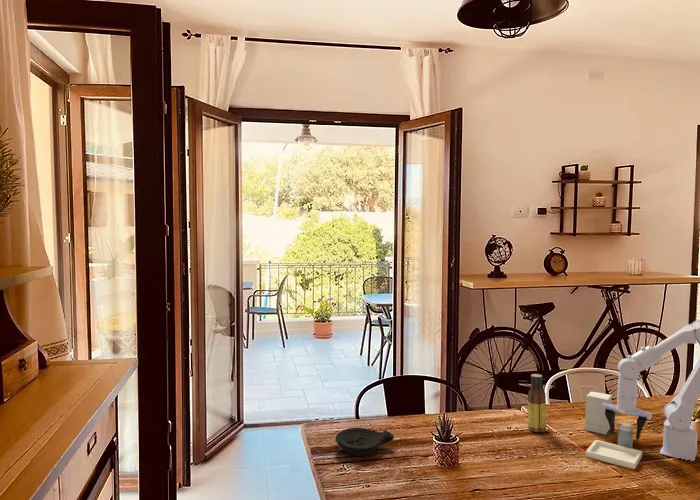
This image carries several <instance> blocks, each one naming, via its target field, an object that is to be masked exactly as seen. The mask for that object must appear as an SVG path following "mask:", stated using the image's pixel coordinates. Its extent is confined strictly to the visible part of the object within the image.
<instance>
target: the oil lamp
mask: <svg viewBox="0 0 700 500" xmlns="http://www.w3.org/2000/svg"><path fill="white" fill-rule="evenodd" d="M394 438H395V436H394V434H393V433H391V432H390V431H388V430H386V429H385V430H383V431H380V432H379V431H376V430H375V429H372V430H371V429H368V428H365V427H364V428H363V427H350V428H346V429H343V430H341V431H340V432H338V433H337V434H336V436H335V441H336V444H337V445H338V446H339V447H340V448H341V449H342V450H343V451H344V452H345V453H347V454H350V455H353V456H357V457H362V456H367V455H369V454H372V453H374V451H376V450H377V449H378V448H380V446H383V445H385V444H388V443H389V442H392V441H393V440H394Z"/></svg>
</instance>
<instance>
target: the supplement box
mask: <svg viewBox="0 0 700 500" xmlns="http://www.w3.org/2000/svg"><path fill="white" fill-rule="evenodd" d="M603 403H607V404H612V394H607V393H603V392H596V391H590V392H589V393H588V394H586V396H585V413H584V414H585V415H584V416H585V419H584V420H585V421H584V430H585V431H588V432H592V433H597V434H602V435H607V433H608V432H609V431H610V426H609V423H608V420H607V418H606V416H605V410H602V404H603Z"/></svg>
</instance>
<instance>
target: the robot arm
mask: <svg viewBox="0 0 700 500" xmlns="http://www.w3.org/2000/svg"><path fill="white" fill-rule="evenodd" d="M697 343H698V346H699V347H700V319H699V320H698V319H697V320H694V321H693V322H692V323H688V324H686V325H685V326H683V327H682V328H680V329H679V330H677V331H676V332H674V333H673V334H671V335H670V336H668V337H666V338H665V339H663V341H661V342H659V343H657V344H656V345H654V346H651V345H647V346H644V345H643V346H641V347H640V349H639V350H638V351H636V352H635V353H633V354H629V355H627V358H622V359H620V360H619V362H618V363H617V365H616V367H617V370H618V372H619V373H618V380H617V394H616V395H617V396H616V404H613V403H611V404H607V403H603V404H602V410H605V416H606V418H607V420H608V423H609V426H610V429H609V431H610V434H614V433H615V430H616V429H615V428H616V427H615V421H616V413H617V414H618V413H619V414H624V415H628V416H633V417H637V418H636V434H635V440H640V438H641V434H642V431H643V429H644V427H645V425H646V422H647V420H648V421H650V420H651V419H652V412H649V411H645V410H642V409H640V408H637V399H638V397H637V396H638V395H637V393H638V377H639V376H640V373H641V372H643V371H645V370H647V369H649V368H650V367H652V366H654V365H655V364H657V363H659V362H660V361H661V357H662V355H664V354H666V353H668V352H671V351H672V350H674V349H676V348H678V347H679V346H681V345H684V344H694V345H695V344H696V345H697ZM699 398H700V358H699V359H698V360H697V362H696V364H695V365H694V367H693V369H692V370H691V373H690V374H689V375H688V376H687V379H686V381H685V382H684V384H683V386H682V388H681V390H679V392H678V394H677V395H675V396H674V397H673V398H672V400H671V401H670V402H668V403H666V404H665V405H664V407H663V410H662V411H663V414H664V416H665V418H666V419H665V421H664V422H663V432H662V433H663V435H662V436H663V437H662V447H661V448H660V451H659V455H663V456H667V457H672V458H676V459H679V458H681V460H683V459H685V460H684V461H687V460H691V461H690V462H692V461H694V460H696V458H695V457H697V455H698V431H697V430H695V429H692V428H691V425H692V423H693V422H692V418H693V415H694V413H695V408H696V407H695V406H696V403H697V402H698V400H699ZM694 462H695V461H694Z"/></svg>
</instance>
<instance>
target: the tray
mask: <svg viewBox="0 0 700 500" xmlns="http://www.w3.org/2000/svg"><path fill="white" fill-rule="evenodd" d="M585 458H590V459H593V460H596V461H597V460H598V461H601V462H604V463H608V464H612V465H616V466H620V467H623V468H626V469H631V470H636V468H637V466H638V465H639V463H640V461H641V459H642V458H643V450H639V449H635V448H633V447H632V448H628V447H624V446H620V445H618V444H616V443H611V442H607V441H602V440H599V439H595V440H594V441H593V442H592V443H591V445H590V446H589V447H588V448H587V449H586V450H585Z"/></svg>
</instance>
